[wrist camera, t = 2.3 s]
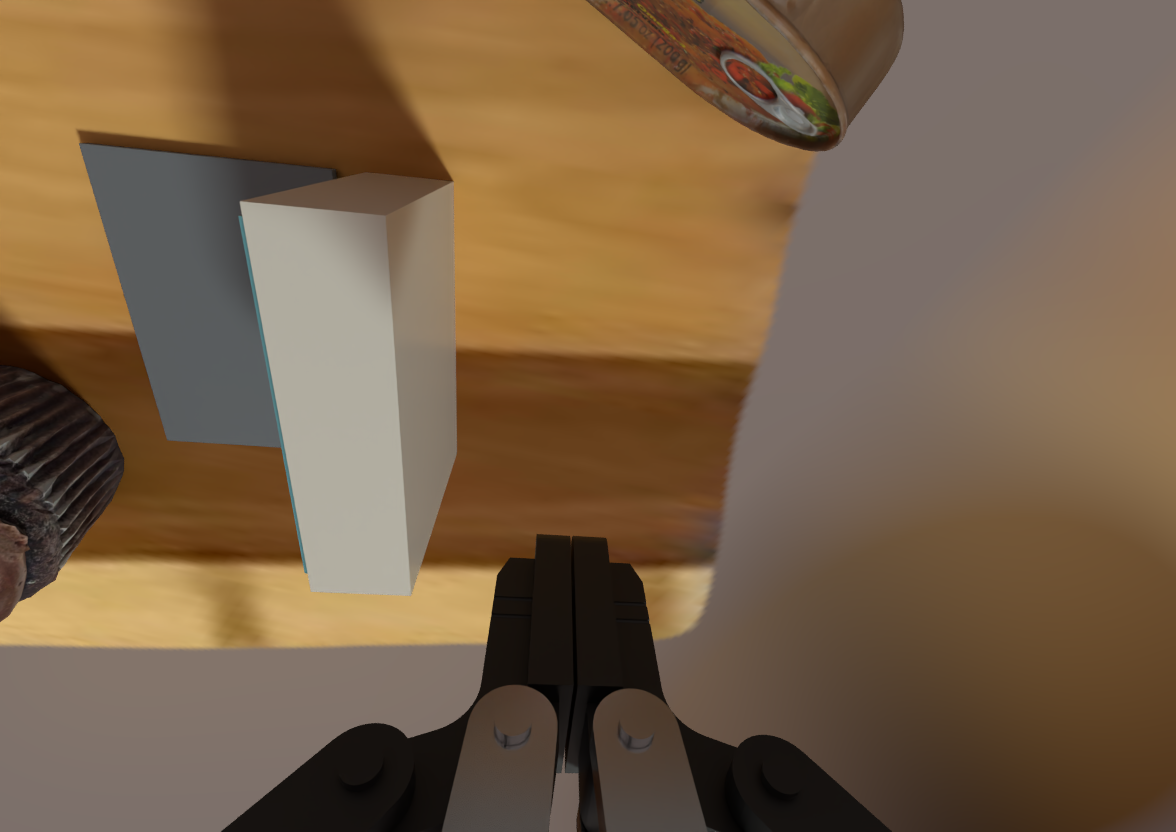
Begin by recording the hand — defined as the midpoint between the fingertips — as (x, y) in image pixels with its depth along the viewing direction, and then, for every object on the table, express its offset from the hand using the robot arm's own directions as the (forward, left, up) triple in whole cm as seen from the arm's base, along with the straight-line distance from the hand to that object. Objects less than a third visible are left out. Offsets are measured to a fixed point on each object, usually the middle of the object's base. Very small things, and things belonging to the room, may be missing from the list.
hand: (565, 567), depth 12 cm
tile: (0, -6, -14) cm, 15 cm away
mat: (0, -13, -13) cm, 19 cm away
